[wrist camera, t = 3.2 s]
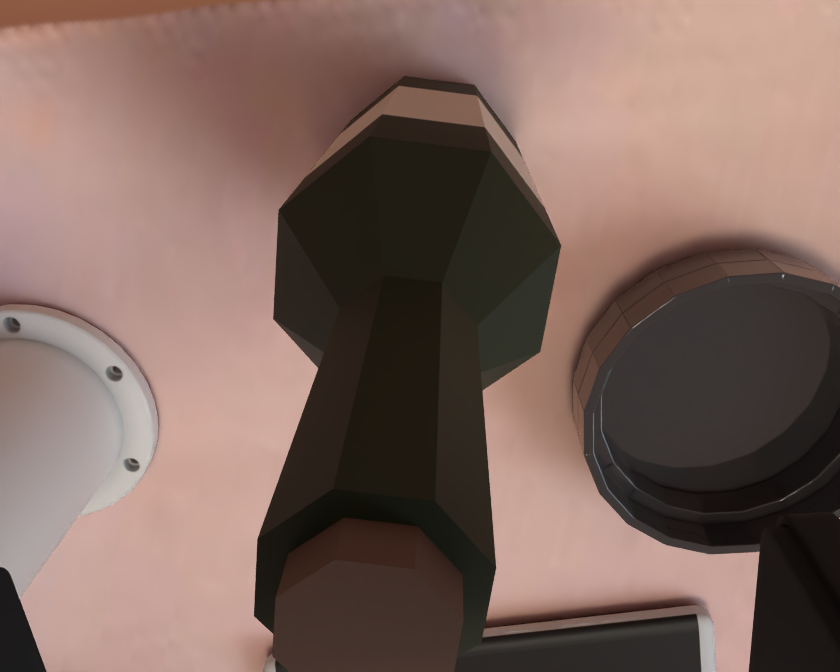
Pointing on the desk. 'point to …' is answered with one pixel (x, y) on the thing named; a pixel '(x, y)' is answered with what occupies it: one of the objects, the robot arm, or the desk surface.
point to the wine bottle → (399, 380)
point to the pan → (715, 399)
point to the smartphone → (594, 644)
